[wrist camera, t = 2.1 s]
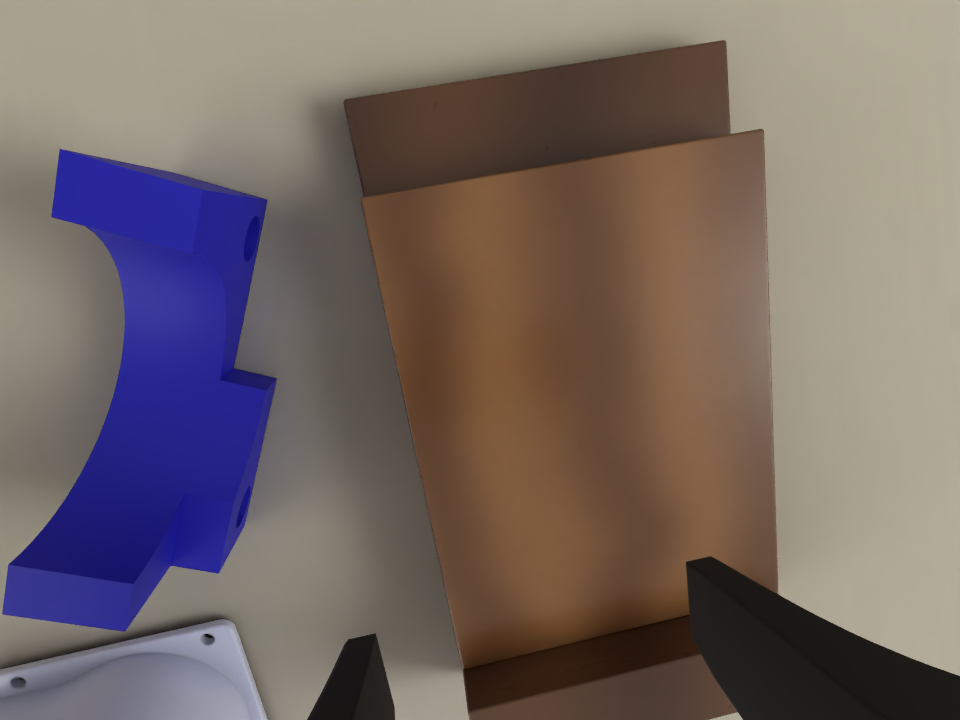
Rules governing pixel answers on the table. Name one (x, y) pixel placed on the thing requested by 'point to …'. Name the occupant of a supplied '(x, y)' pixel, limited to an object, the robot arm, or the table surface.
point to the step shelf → (579, 367)
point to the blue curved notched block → (156, 398)
